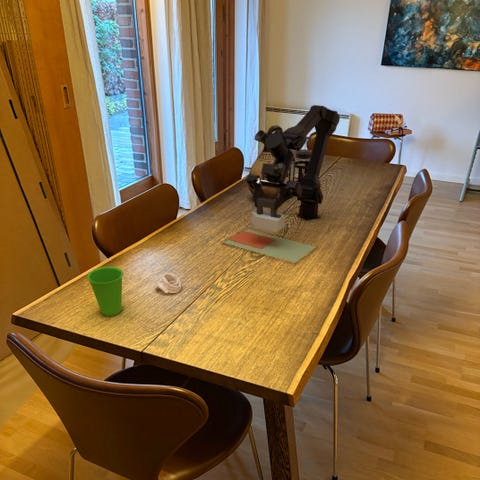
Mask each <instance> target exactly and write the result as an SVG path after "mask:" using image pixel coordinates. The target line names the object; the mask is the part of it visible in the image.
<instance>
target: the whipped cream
mask: <svg viewBox="0 0 480 480" xmlns="http://www.w3.org/2000/svg"><path fill="white" fill-rule="evenodd" d="M172 281H173V283H170V282H172ZM159 289H160V290H161V291H162V292H163V293H165V294H168V293H170V294H177V293H179V292H180V291H181V289H182V283H181V281H180V279H179V278H178V276H177V275H175V274H173V273H171V272H168V273H164V274H163V275H162V276H161V278H160V280H158V282H157V285H156V287H155V291H157V290H159Z"/></svg>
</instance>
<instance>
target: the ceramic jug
mask: <svg viewBox="0 0 480 480" xmlns="http://www.w3.org/2000/svg"><path fill="white" fill-rule="evenodd" d="M276 130H281V131H282V133H283V132H284V130H283V128H282V127H281V126H280V125H278V124H277V125H276V124H275V125H272V126H270V127H269V128H268V130H267V132H265V131H264V130H262V129H260V130H259V131H257V132H256V133H255V135H254V141H256V142H259V143H261V144H263V148H262V150H261V152H260V153H259V154H258V156H257V157H256V159H254V160H255V161H254V162H253V164H252V165H251V167H250V169H249V173H248V175H249V174H254V175H259V176H260V178H261V180H267V178H265V177H264V175H265V174H261V171H262V166H263V163H266V164H271V163H273V162H274V160H275V158H274V157H273V156H272V155H271V153H270V152H269V150H268V148H267V147H266V145H265V140H266V138H267V137H268V136H269V135H270V134H272V133H275V131H276ZM247 188H248V190H249V192H250V193H251V195H252V196H253V199H254V201H255V189H251V188H250V187H249V185H248V184H247ZM262 189H263V191H264V194H263V196H262V198H266V199H272V200H277V198H278V197H279V194H280V189H277V188H271V187H265V186H263V187H262Z"/></svg>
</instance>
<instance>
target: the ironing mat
mask: <svg viewBox="0 0 480 480" xmlns="http://www.w3.org/2000/svg"><path fill="white" fill-rule="evenodd" d="M223 243H224V244H227V245H230V246H234V247H237V248H241V249H245V250H248V251H252V252H255V253H259V254H261V255H265V256H269V257H273V258H275V259H276V258H277V259H280V260H282V261H283V260H284V261H287V262H290V263H294V264H296V263H297V262H298V261H299V260H301V259H302V258H303V257H305V256H307V254H309V253H310V252H312V251H313V250H315V249H316V248H317V246H315V245H310V244H307V243H303V242H299V241H295V240H292V239H288V238H284V237H280V236H277V235H273V234H268V233H264V232H259V231H255V230H250V229H248V228H247V229H245V230H243V231H242V232H239V233H238V234H236V235H234V236H233V237H231V238H229V239H227V240H225V241H224V242H223Z"/></svg>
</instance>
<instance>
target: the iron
mask: <svg viewBox="0 0 480 480" xmlns="http://www.w3.org/2000/svg"><path fill="white" fill-rule="evenodd" d="M276 201H277V199H276V200H272V199H266V198H261V197H260V198H258V199H257V207H256V211H252V212H251V220H252V221H251V223H250V224H249V225H247V229H250V230H253V231H257V232H261V233H265V234H269V235H273V236H278V235H279V234H280V233H282V232H283V231H284V230H285V229H286V214H282V213H279V212H278V209H277V210H276V211H274V206H275V204H276ZM264 208H265V209H266V208H267V209H270V211H268V210H267V211H266V210H264Z"/></svg>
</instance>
